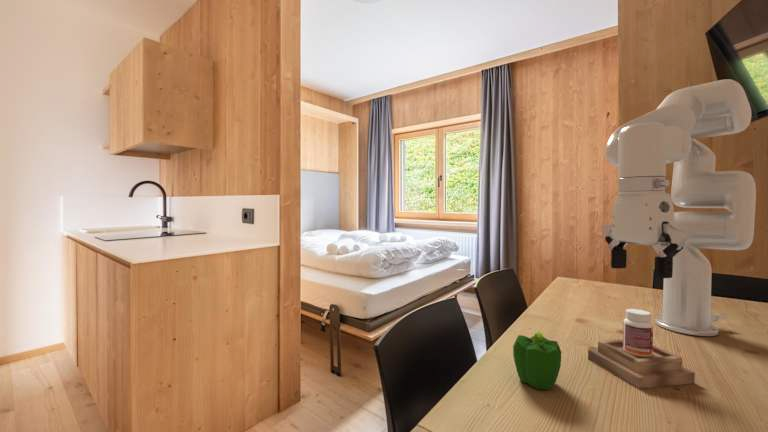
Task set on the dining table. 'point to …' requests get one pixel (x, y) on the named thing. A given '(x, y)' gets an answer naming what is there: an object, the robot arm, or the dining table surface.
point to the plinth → (641, 365)
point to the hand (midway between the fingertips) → (639, 272)
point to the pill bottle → (638, 333)
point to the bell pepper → (537, 360)
